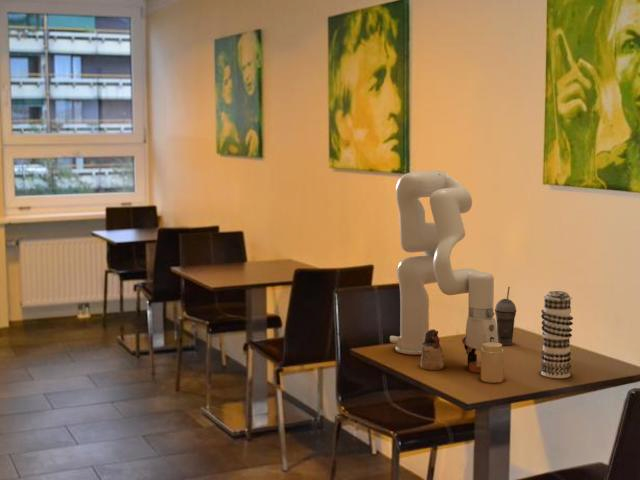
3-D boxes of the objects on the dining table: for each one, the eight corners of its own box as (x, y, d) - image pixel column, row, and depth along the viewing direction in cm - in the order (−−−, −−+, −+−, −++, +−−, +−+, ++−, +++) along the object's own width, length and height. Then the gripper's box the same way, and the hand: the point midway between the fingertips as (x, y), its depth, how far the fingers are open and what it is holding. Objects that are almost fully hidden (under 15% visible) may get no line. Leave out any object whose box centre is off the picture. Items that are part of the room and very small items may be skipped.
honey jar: (477, 381, 262) (478, 345, 260) (484, 375, 268) (484, 340, 266) (500, 383, 259) (500, 348, 258) (505, 378, 265) (506, 343, 263)
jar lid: (496, 370, 273) (496, 364, 273) (479, 374, 269) (479, 367, 269) (480, 365, 279) (481, 359, 278) (464, 369, 275) (464, 363, 275)
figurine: (437, 363, 282) (437, 326, 280) (447, 368, 275) (448, 330, 274) (416, 365, 279) (416, 327, 278) (427, 371, 273) (427, 332, 271)
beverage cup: (502, 340, 312) (503, 283, 310) (520, 343, 307) (521, 286, 304) (489, 343, 307) (490, 286, 305) (507, 347, 302) (508, 289, 299)
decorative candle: (535, 370, 272) (537, 290, 269) (564, 369, 273) (567, 289, 270) (545, 379, 263) (547, 295, 260) (576, 378, 264) (578, 294, 261)
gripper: (510, 316, 266) (509, 374, 269) (471, 307, 281) (470, 362, 283) (491, 319, 263) (490, 378, 265) (452, 309, 277) (452, 365, 279)
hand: (480, 369), depth 274 cm, fingers open, 7 cm apart
